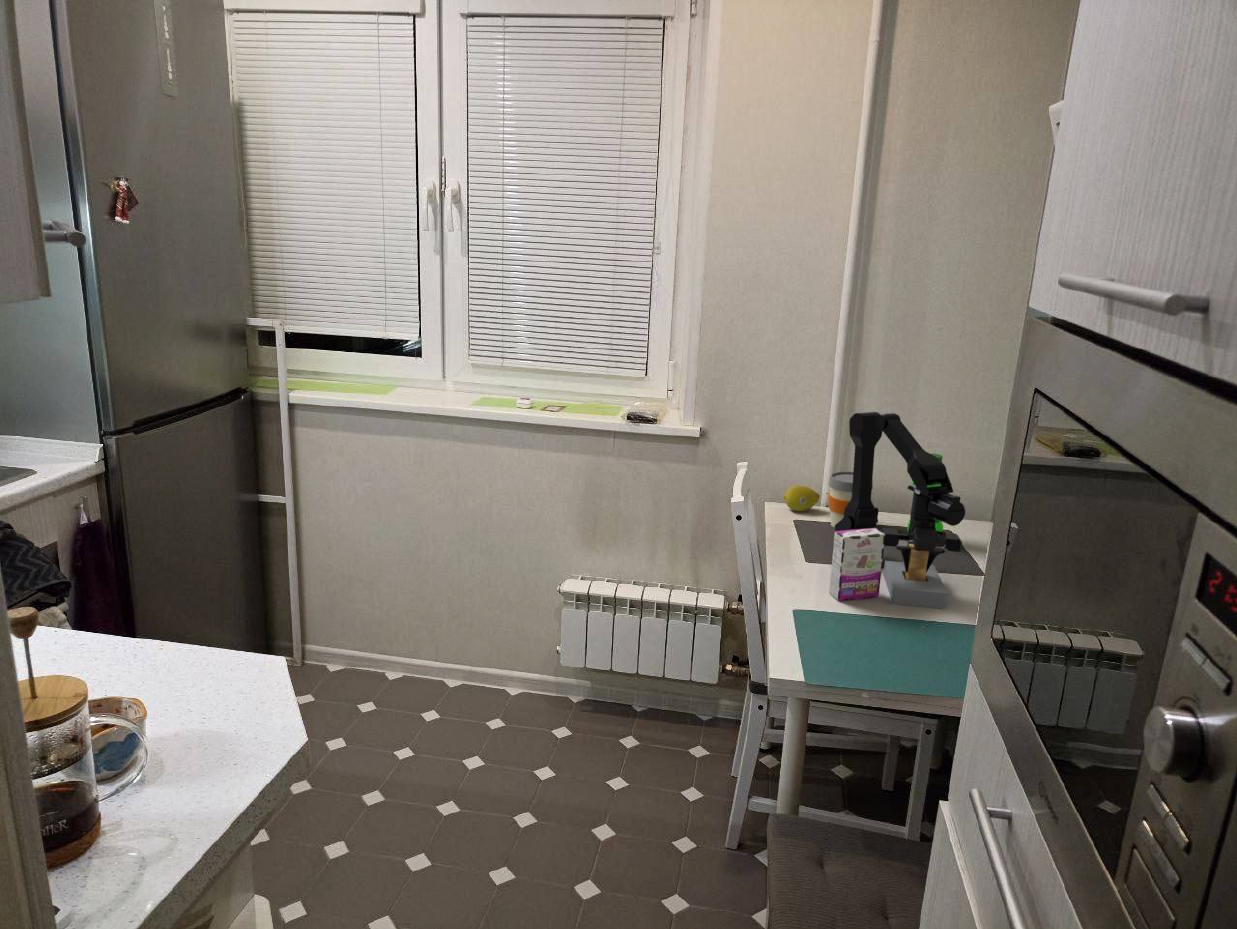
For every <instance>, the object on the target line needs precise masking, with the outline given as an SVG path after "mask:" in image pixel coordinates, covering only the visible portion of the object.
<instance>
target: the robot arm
mask: <svg viewBox="0 0 1237 929" xmlns="http://www.w3.org/2000/svg"><path fill="white" fill-rule="evenodd" d="M848 422H849V423H848V424H849V426H848V427H849V429H848V431H849V437H850V439H851V441H852V442H853V444H854V455H853V456H854V457H853V458H854V459H853V471H852V472H853V485H852V498H851V500H850V502H849V503H848V505H847V506H846V508H845V511H844V516H843V519H842V520H841V521H839V522H838V523H837V524H836V525H835V528H834V532H835V531H844V530H856V529H869V528H877V524H878V523H879V518H878V516H879V508H878V507H875V505H874V503H873V501H872V493H873V492H872V491H873V489H872V479H873V475H874V465H875V464H874V462H875V449H876V446H877V445H878V443H879V441H880V440H881V438H882V436H883V433H884V435H885V436H886V437H887V438H888V440H889V441H890V442H891V444H892V445H893V447H895V449H896V451H897V452H898V453H899V455H900V456H901V457H902V458H903V459H904V461H905V463H906V471H907V473H908V475H909V477H910V479H911V482H912V481H913V482H914V483H913V484H909V485H908V486H907V490H910V491H912V492H913V494H912V502H911V510H910V518H909V520H910V524H909V530H908V529H907V533H908V534H907V533H899V531H898V530H897V528H889V527H882V528H880V529H879V531H881V532H883V533H884V534H885V541H884V547H895V549H896V550H898V551H900V553H901V557H902V562H904V567H905V571H906V572H908V565H909V543H910V544H914V549H915V550H916V551H929V554H928V561H927V568H926V573H927V571H928V569H929V567H930V566H931V565H933V562H934V560H935V559H936V558H937V557H938V556H940V554H945V553H946V551H945V549H946V550H947V552H955V553H962V551H963V541H962V539H961V538H960V536H959V535H958V534H957V533H952V532H946V531H936V528H935V522H936V521H935V518H936V519H938V520H940V521H942V523H945V524H947V525H949V526H951V527H952V526H953V527H954V526H957V525H959V524H960V523H961V522H962V521H963V520H964V518H965V516H966V508H965V506H964V505H965V504H964V503H962V502H961V497H960V496H958V495H954V494H952V493H954V488H953V487H952V485H953V484H952V483H951V482H952V481H951V480H949V478H950V477H949V474H948V471H947V467H946V465H945V463H943V461H942V462H941V461H940V460H939V459H938V458H937V457H935V456H934V455H932V454H933V453H932V454H930V453H929V452H928V451H927V450H925V449H924V448H923V447H922V446H921V445H920V443H919V442H918V441H917V439H916V438H915V437H914V435H913V434H911V432H910V431H909V430H908V428H907V427H906V425H904V423H903V422H902V420H901V417H900V415H899V414H897V413H896V412H895V413H893V412H891V413H880V412H877V411H870V412H869V411H868V412H867V411H866V412H856V413H853V414H852V416H850V418H849V421H848ZM939 484H941V486H936V487H927V486H930V485H939Z"/></svg>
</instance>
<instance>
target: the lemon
mask: <svg viewBox="0 0 1237 929" xmlns="http://www.w3.org/2000/svg"><path fill="white" fill-rule="evenodd" d="M783 499H784V500H785V503H786V505H787V507H788V508H789V509H790V510H792V511H795V512H804V511H805V512H806V511H808V510H810V509H811V508H813V507H814V506H815V505H816V504H818V503H819V500H820V494H819V493H818V492H816V491H815V490H814V489H813V488H811V487H809V486H806V485H801V484H798V485H794V486H791V487H789V489H788V490H787V491H786V493H785V494H784V495H783Z"/></svg>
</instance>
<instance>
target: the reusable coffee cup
mask: <svg viewBox="0 0 1237 929" xmlns="http://www.w3.org/2000/svg"><path fill="white" fill-rule="evenodd" d="M829 476H830V477H829V481H828V486H829V492H828V508H829V510H830V525H831V527H833V528H834V529H835V525H836V524H837V523H838V522H839V521H841V520H842V519H843V516H844V511H845V508H846V506H847V505H848V503H849V502H850V500H851V498H852V485H853V471H835V472H832V473H830V475H829ZM873 483H874V480H873V479H872V490H873V485H874V484H873Z"/></svg>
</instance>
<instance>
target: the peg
mask: <svg viewBox="0 0 1237 929" xmlns="http://www.w3.org/2000/svg"><path fill="white" fill-rule="evenodd" d="M908 547H909V565H908V572H905V580H915V581H925V576H926V568H927V561H928V554H929V551H916V550H915V549H914V543H908Z"/></svg>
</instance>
